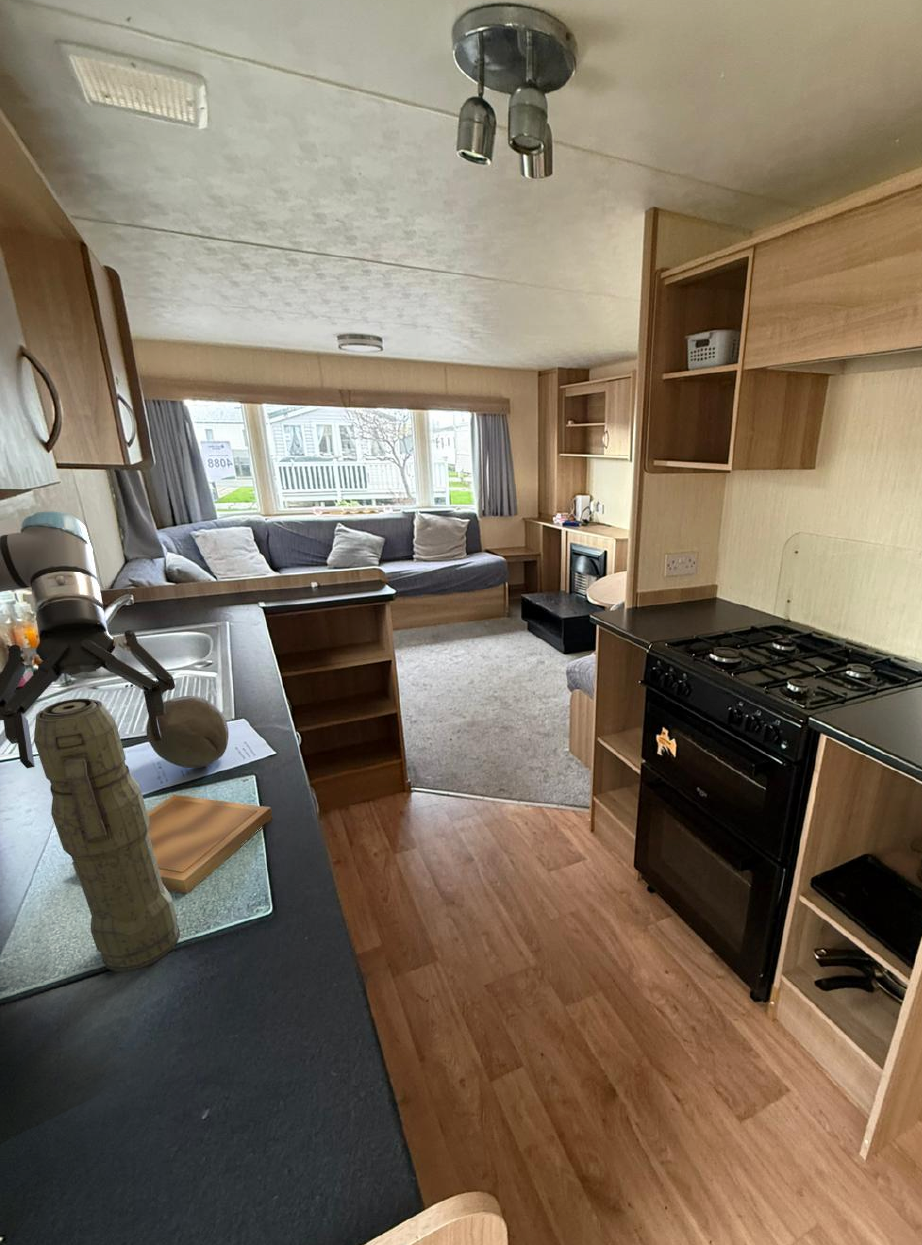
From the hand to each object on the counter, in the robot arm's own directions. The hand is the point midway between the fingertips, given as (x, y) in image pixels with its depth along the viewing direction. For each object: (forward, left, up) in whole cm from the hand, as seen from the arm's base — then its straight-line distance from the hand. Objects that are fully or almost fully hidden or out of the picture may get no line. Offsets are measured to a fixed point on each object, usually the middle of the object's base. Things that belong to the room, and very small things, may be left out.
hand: (95, 750), depth 79 cm
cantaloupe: (-24, +38, -26) cm, 52 cm away
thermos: (+6, -6, -26) cm, 27 cm away
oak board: (-6, +14, -26) cm, 30 cm away
